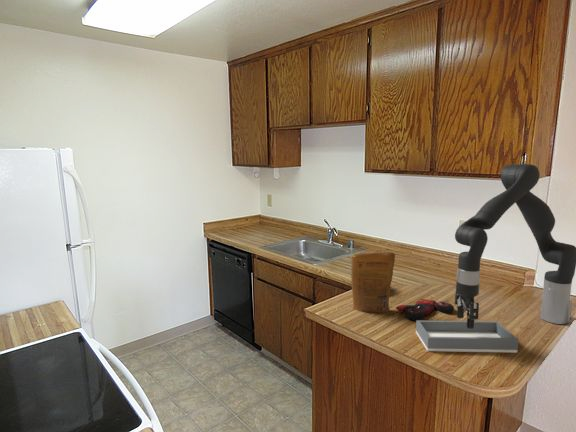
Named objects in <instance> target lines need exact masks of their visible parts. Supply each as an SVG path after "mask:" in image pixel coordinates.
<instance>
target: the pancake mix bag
mask: <svg viewBox="0 0 576 432" xmlns="http://www.w3.org/2000/svg"><path fill="white" fill-rule="evenodd" d="M395 261H396V253H395V252H372V253H370V252H369V253H354V255H351V260H350V264H351V266H350V278H351V281H350V282H351V291H352V302H353V305H352V306H353V307H352V310H355V311H358V312H361V313H370V314H371V313H375V314H377V313H378V314H386V313H387V312H390V304H389V302H390V296H391V285H392V282H393V281H392V280H393V275H394V267H395Z"/></svg>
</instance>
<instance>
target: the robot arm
mask: <svg viewBox="0 0 576 432" xmlns="http://www.w3.org/2000/svg"><path fill="white" fill-rule="evenodd" d="M500 180H501V183H502V186H503V187H504V189H505V190H504V191H503V192H501V193H499V194H497V195H495V196H494V197H492V198H491V199H489V200H488V201H486V203H484V204H483V205H482V206H481V207H480V209H479V210H478V211H477V212H476V213H475V215H473V216H472V217H470V218H469V219H466V220H465V221H464V222H463V223H461V224H460V225H459V226H458V227H457V229H456V231H455V233H454V239H455V241H456V243H458V244H460V245H463V246H467V247H469V249H468V251H462V252H460V253H459V255H458V263H457V270H456V281H455V282H456V284H455V296H454V305H456V308H457V309H456V310H457V311H456V312H457V313H456V317H457V319H463V318H464V317H465V316H464V315H465V313H466V317H467V318H466V321H467V328H469V329H473V328H474V321H475V320H479V313H480V311H479V309H480V308H479V307H480V306H479V305H480V304H479V302H475V297H476V296H478V295H479V294H480V280H481V279H480V278H481V274H480V269H481V259H482V258H483V257H482V256H483V254H484V251H485V248H486V246H487V244H488V234H487V232H486V230H491V229H492V228H494V226H495V225H496V223H497V222H498V221H499V220H500V219H501V218H502V216H503V215H504V214H505V213H506V212H507V211H508V210H509V209H510V208H511V207H512V206H513V205H515V204H516V206H517V207H518V209H519V210H520V213H521V215H522V217H523V219H524V221H525V223H526V224H527V226H528V228H529V229H530V232H531V234H532V236H533V237H534V239H535V242H536V244H537V247H538V249H539V253H540V255H541V257H542V258H543V260H544V261H545V262H547V263H550V264H554V265H556V266H558V267H557V270H548V271H546V272H545V273H544V276H543V277H544V278H543V288H542V298H541V299H542V300H541V307H540V316H539V317H540V318H541V320H543V321H545V322H548V323H551V324H557V325H565V324H567V323H570V322H571V317H572V306H573V300H572V299H571V295H572V294H571V293H572V284H573V278H574V277H575V272H576V246H575V245H573V244H568V243H564V242H560V241H556V240H555V239H554V238H553V236H552V231H553V230H554V227H555V225H556V219H555V215H554V213H553V212H552V210H551V208H550V206H549V205H548V204H547V203H546V202H545V201H544V200H543V199H541V198H539V196H537V195H535V194H534V193H533V192H531V190H532V189H534V187H536V185H537V184H538V182H539V180H540V170H539V167H537V166H536V165H534V164H529V163H527V164H526V163H517V164H515V163H514V164H508V165H504V166H503V168H502V169H501V171H500Z"/></svg>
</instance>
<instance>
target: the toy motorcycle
mask: <svg viewBox="0 0 576 432" xmlns="http://www.w3.org/2000/svg"><path fill="white" fill-rule="evenodd" d="M395 309H396V310H397V311H398V312H400V313H401V312H403V311H404V315H405V317H406V318H407V319H409V320H411V321H416V320H419V321H423V320H425V316H427V315H430V314H431V313H432V312H433V311H434V310H437V311H439V312H441V313H447V314H449V313H450V314H451V313H453V312H454V311H455V307H454V305H452V304H451V303H450V302H446V301H436V300H433V299H425V298H419V300H417V301H416V302H415V304H399V305H397V306H395Z"/></svg>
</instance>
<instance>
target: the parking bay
mask: <svg viewBox="0 0 576 432" xmlns="http://www.w3.org/2000/svg"><path fill="white" fill-rule="evenodd" d="M415 322H416V324H415V334H416V335H417V337H418V338H419V340H420V342H421V343H422V344H423V346H424V348H425V349H426V351H427V352H451V353H452V352H453V353H454V352H459V353H461V352H462V353H463V352H465V353H510V354H511V353H516V354H517V353H518V350H519V347H518V346H519V339H518V338H517V336H516V335H514V334H513V333H512V332H511V331H510V330H509V329H507V328H506V327H505V326H504V325H503V324H501V323H500V322H499V321H495V320H494V321H490V320H489V321H488V320H486V321H484V320H482V321H480V320H479V321H477V320H474V328H473V329H469V328H467V320H415Z"/></svg>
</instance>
